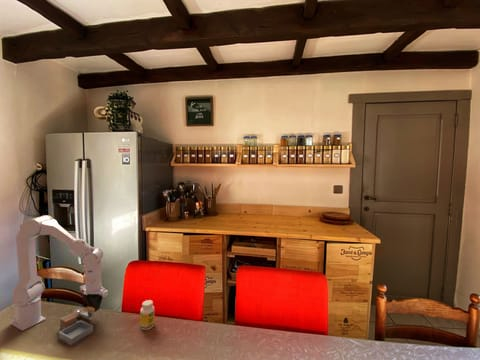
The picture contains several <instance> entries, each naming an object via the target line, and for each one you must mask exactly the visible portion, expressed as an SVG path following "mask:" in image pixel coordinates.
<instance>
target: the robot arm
mask: <svg viewBox="0 0 480 360" xmlns="http://www.w3.org/2000/svg"><path fill="white" fill-rule="evenodd" d="M49 235H50V236H53V237H54V238H56V239H57V240H59V241H60V242H62V243H64V244H65V245H67V246H68V251H69V252H71V253H72V254H74V255H75V256H77V257H78V258H80V259H81V262H82V265H83V266H84V267H85V268H84V269H85V273H84V274H85V284H83V285H80V286H79V291H80V292H83V294H82V298H83V299H84V301H85V302H86V305H87V307H88V306H90V307H93V308H95V310H94V311H93V313H94V312H98V311H99V310H100V309H101V308H100V307H101V304H102V300H103V298H105V297H107V296H108V295H109V291H108V290H107V289H106V288H105V287H103V286H102V259H103V257H104V252H103V251H102V250H101V249H100V248H97V247H96V248H95V247H94V246H91V245H90V244H89V243H87V241H86V240H85V239H82V238H75V237H74V236H73V234H70V233H69V232H68V231H67V230H66V229H65V228H64V227H62V226H61V225H60V224H59V223H58V221H57V220H56V219H54V218H53V217H52V216H51V215H47V214H43V215H41V216H37V217H33V218H29V219H26V220H25V221H23V222H22V223H21V224H19V230H18V232H17V234H16V237H15V240H16V255H17V266H18V278H19V279H18V280H19V281H18V282H17V283H16V285H15V287H14V288H13V294H12V297H11V301H12V303H13V304H14V306H13V321H11V322H10V325H12V326H14V327H15V328H17V329H18V330H19V331H20V330H21V331H25V330H26V329H29V328H31V327H32V326H35V325H37V324H39V323H42V322H43V321H45V320H46V317H44V316H43V315H42V303H41V302H42V301H41V297H42V293H43V292H44V291H45V289H46V287H45V284H44V283H43V279H42V277H41V276H39V275H38V271H37V270H38V269H37V268H38V267H37V255H36V241H35V239H36V238H37V237H39V236H49Z"/></svg>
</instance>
